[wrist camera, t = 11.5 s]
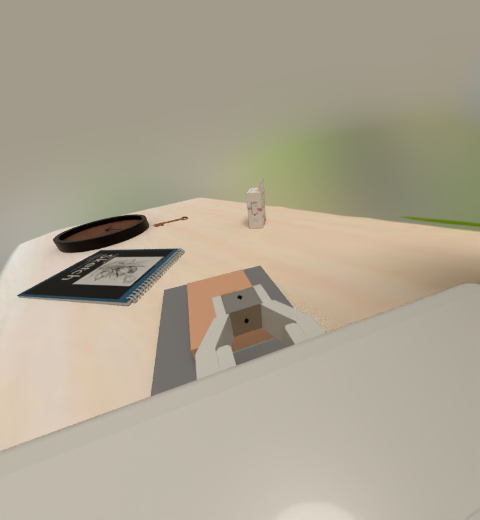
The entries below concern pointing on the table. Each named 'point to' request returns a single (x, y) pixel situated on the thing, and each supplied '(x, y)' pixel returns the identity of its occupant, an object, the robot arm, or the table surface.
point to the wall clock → (101, 233)
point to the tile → (205, 313)
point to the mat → (178, 336)
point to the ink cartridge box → (256, 206)
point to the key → (169, 221)
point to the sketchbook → (106, 277)
